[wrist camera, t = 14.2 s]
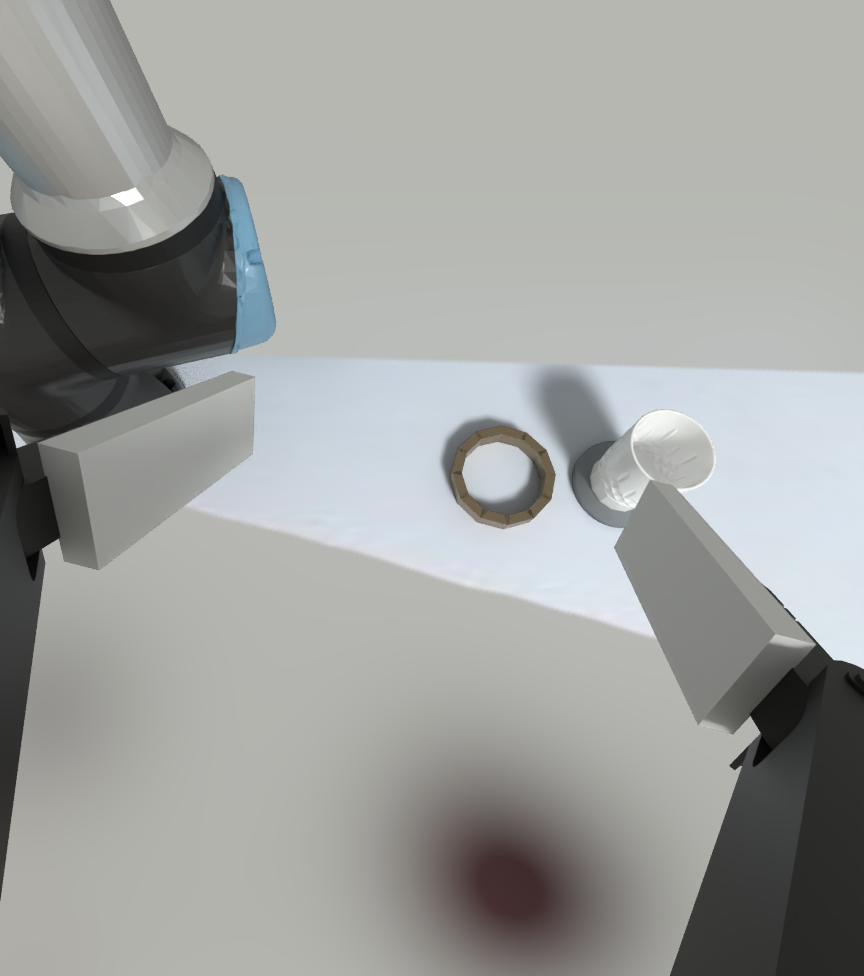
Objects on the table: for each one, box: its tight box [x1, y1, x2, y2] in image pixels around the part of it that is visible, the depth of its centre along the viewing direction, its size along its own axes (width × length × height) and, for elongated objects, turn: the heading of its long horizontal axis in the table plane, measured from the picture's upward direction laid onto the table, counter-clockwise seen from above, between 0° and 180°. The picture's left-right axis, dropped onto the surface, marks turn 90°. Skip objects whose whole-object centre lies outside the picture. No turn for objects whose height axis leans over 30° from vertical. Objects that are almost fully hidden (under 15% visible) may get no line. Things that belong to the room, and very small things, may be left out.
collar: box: [450, 426, 556, 529], centre depth 47 cm, size 11×11×2 cm
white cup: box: [590, 409, 715, 512], centre depth 43 cm, size 8×8×10 cm
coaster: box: [572, 441, 634, 528], centre depth 48 cm, size 10×10×1 cm
